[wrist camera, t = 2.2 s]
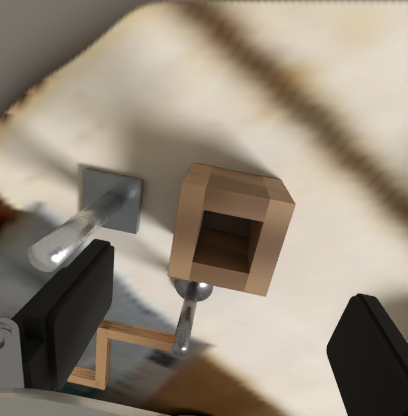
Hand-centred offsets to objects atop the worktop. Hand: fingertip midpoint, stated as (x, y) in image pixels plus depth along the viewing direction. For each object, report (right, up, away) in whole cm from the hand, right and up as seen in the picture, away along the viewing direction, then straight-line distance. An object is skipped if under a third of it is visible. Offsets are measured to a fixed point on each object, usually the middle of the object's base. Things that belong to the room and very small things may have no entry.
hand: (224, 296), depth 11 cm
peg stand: (-8, +4, +11) cm, 14 cm away
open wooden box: (+1, +3, +10) cm, 11 cm away
